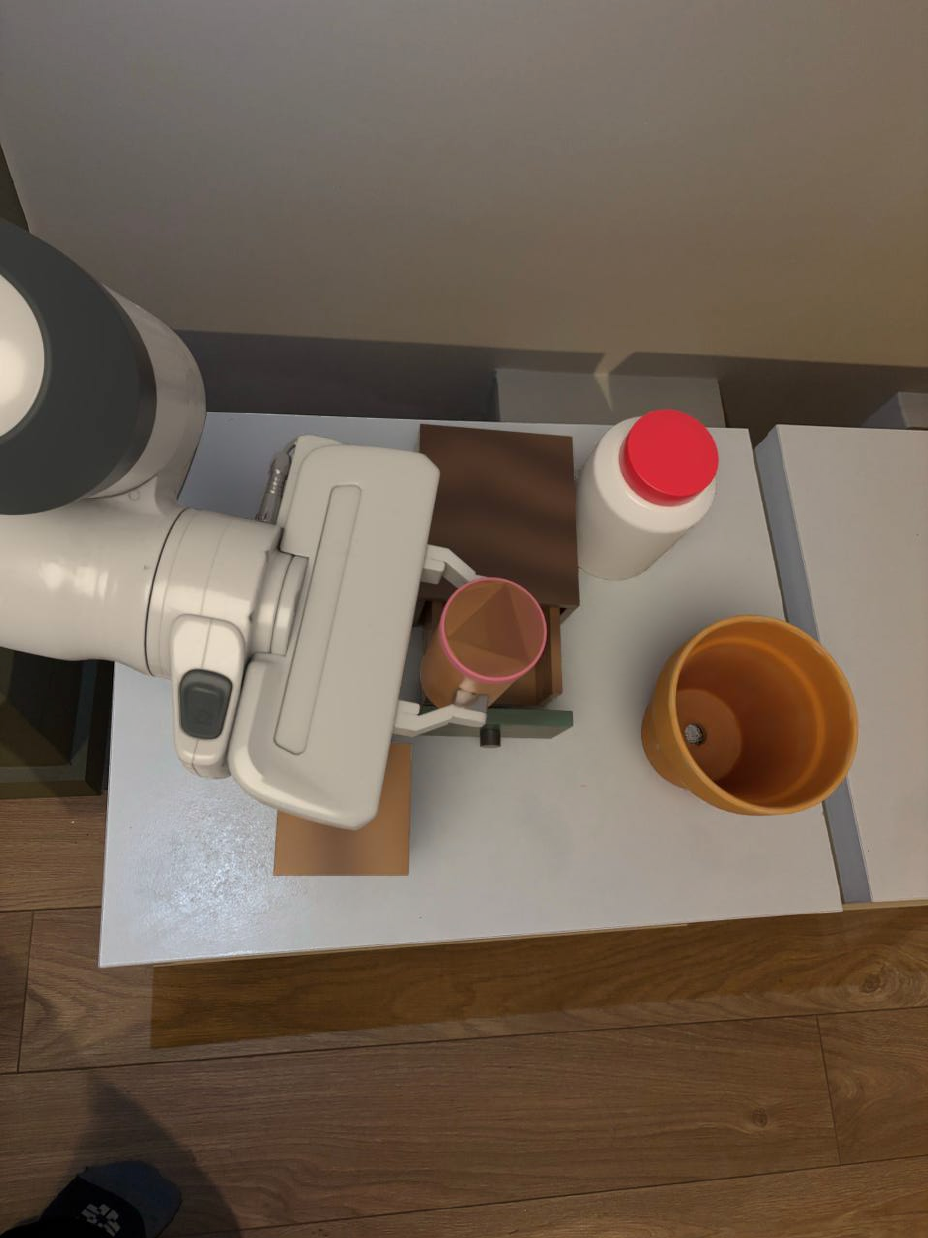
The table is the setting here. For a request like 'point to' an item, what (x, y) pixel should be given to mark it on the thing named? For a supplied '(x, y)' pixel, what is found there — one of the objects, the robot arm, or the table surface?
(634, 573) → the pill bottle
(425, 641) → the drawer
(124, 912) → the table surface
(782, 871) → the table surface
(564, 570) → the cabinet
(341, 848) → the stand
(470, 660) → the pink-rimmed cylinder
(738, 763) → the flower pot
